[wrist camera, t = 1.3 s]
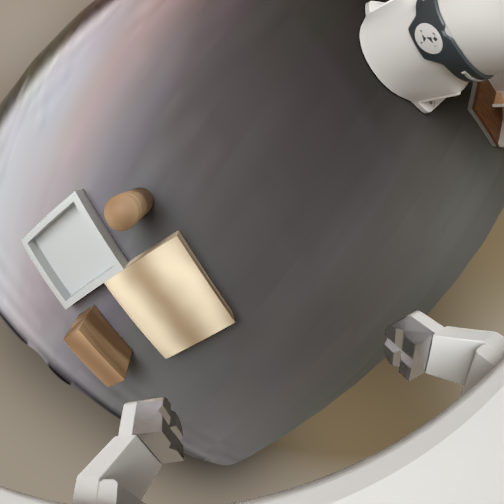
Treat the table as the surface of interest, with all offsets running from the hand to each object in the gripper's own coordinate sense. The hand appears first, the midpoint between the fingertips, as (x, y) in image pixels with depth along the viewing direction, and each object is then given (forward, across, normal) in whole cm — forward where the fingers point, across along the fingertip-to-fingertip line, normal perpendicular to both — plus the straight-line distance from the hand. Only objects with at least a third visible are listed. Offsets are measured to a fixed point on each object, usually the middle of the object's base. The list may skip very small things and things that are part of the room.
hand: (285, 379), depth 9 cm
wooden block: (+24, +18, +9) cm, 31 cm away
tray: (+24, +17, -3) cm, 30 cm away
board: (+24, +7, +6) cm, 26 cm away
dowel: (+24, +7, -6) cm, 26 cm away
